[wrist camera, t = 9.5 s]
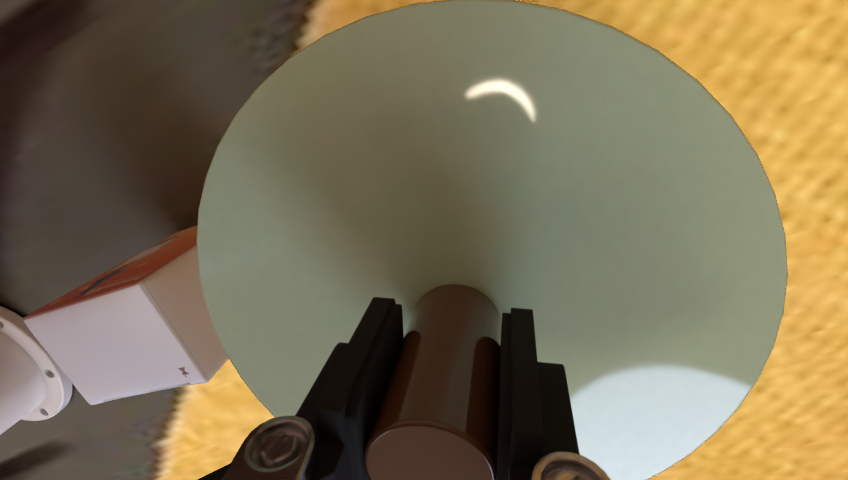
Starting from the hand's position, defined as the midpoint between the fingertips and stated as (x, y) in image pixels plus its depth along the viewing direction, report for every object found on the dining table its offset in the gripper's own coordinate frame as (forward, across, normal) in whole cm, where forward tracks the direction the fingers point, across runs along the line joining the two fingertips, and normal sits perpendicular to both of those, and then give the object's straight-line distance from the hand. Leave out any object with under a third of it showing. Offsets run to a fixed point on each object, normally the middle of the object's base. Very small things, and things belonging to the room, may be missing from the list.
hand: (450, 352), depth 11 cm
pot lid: (+2, 0, 0) cm, 2 cm away
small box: (+15, +16, +5) cm, 22 cm away
